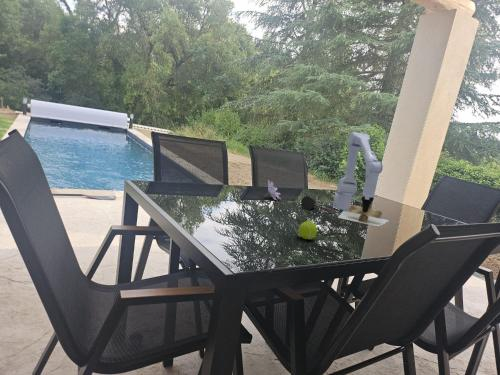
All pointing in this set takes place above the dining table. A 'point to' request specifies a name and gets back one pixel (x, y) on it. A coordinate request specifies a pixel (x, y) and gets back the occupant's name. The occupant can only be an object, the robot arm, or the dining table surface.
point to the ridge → (363, 218)
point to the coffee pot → (312, 204)
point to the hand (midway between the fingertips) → (365, 211)
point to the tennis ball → (307, 230)
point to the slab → (355, 218)
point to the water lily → (272, 191)
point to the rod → (369, 213)
